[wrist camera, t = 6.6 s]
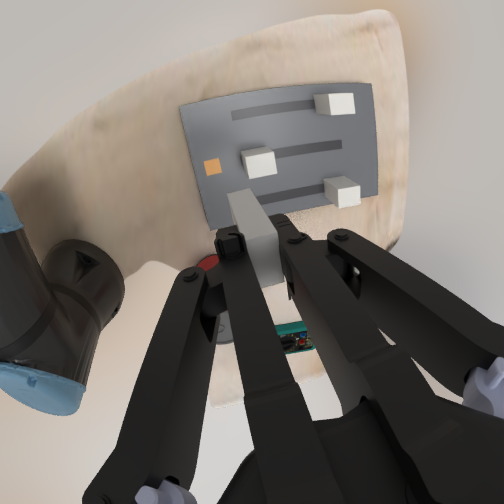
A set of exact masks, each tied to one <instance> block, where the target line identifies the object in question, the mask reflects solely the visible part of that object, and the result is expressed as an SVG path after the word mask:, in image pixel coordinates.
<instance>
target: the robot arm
mask: <svg viewBox="0 0 504 504" xmlns="http://www.w3.org/2000/svg"><path fill="white" fill-rule="evenodd" d="M227 196H228V200H229V205H230V209H231V213H232V218H233V222H234V225H233V226H229V227H225V228H221V229H218V231H217V233H216V239H215V241H214V245H215V248H216V252H217V255H218V259H219V262H218V263H217V264H216V265H215V266H214V267H213V268H211V269H209V270H207V271H205V270H204V269H203V268H201V267H190V268H186V269H184V270H183V271H181V272H180V273H179V274H178V275H177V277H176V279H175V281H174V284H173V286H172V288H171V291H170V293H169V296H168V298H167V301H166V303H165V305H164V308H163V310H162V313H161V316H160V318H159V321H158V323H157V326H156V328H155V331H154V333H153V336H152V339H151V342H150V344H149V347H148V350H147V352H146V355H145V358H144V361H143V363H142V366H141V369H140V372H139V375H138V378H137V380H136V383H135V386H134V389H133V392H132V395H131V398H130V401H129V404H128V408H127V411H126V414H125V417H124V421H123V424H122V427H121V430H120V434H119V437H118V441H117V444H116V447H115V449H114V450H113V452H112V453H111V455H110V456H109V458H108V459H107V460H106V462H105V463H104V465H103V466H102V468H101V469H100V470H99V472H98V473H97V475H96V476H95V478H94V479H93V480H92V482H91V483H90V485H89V486H88V488H87V489H86V491H85V492H84V495H83V497H82V504H197V501H196V499H195V497H194V496H193V495H192V494H191V493H190V492H189V489H190V486H191V483H192V481H193V478H194V474H195V469H196V465H197V458H198V452H199V445H200V439H201V432H202V425H203V419H204V413H205V406H206V401H207V395H208V389H209V383H210V377H211V371H212V365H213V359H214V353H215V347H216V342H217V336H218V330H219V325H220V319H221V317H220V314H221V313H223V312H225V311H227V310H228V314H229V320H230V325H231V330H232V335H233V340H234V346H235V351H236V355H237V360H238V365H239V370H240V375H241V380H242V384H243V389H244V395H245V396H244V404H245V409H246V414H247V418H248V423H249V427H250V432H251V436H252V440H253V445H254V450H253V451H251V453H249V455H248V456H246V458H245V459H244V460H243V461H242V463H241V464H240V466H239V468H238V469H237V471H236V473H235V474H234V476H233V478H232V480H231V481H230V483H229V485H228V486H227V488H226V490H225V491H224V493H223V495H222V497H221V498H220V499H219V501H218V503H217V504H504V326H502V325H499V324H497V323H494V322H492V321H490V320H489V319H488V318H486V317H485V316H484V315H482V314H481V313H480V312H478V311H477V310H476V309H474V308H473V307H471V306H470V305H469V304H467V303H466V302H464V301H463V300H462V299H460V298H459V297H457V296H456V295H454V294H453V293H451V292H450V291H448V290H447V289H446V288H444V287H443V286H441V285H439V284H438V283H437V282H435V281H433V280H432V279H430V278H429V277H427V276H426V275H424V274H423V273H421V272H420V271H418V270H416V269H415V268H413V267H411V266H410V265H408V264H407V263H405V262H404V261H402V260H400V259H399V258H397V257H395V256H394V255H392V254H391V253H389V252H387V251H386V250H384V249H382V248H381V247H379V246H377V245H375V244H374V243H372V242H370V241H369V240H367V239H365V238H363V237H362V236H360V235H358V234H356V233H355V232H353V231H350V230H348V229H336V230H332V231H331V232H329V233H328V235H327V240H312V239H311V238H310V237H309V236H308V235H307V234H305V233H302V232H299V231H298V230H297V228H296V227H295V226H294V225H293V224H292V222H291V221H290V219H289V218H288V217H287V216H286V215H284V214H281V213H279V214H275V215H271V216H267V215H266V213H265V211H264V210H263V208H262V207H261V205H260V204H259V202H258V200H257V199H256V197H255V196H254V194H253V192H252V191H251V189H250V188H249V189H244V190H240V191H236V192H232V193H228V194H227ZM23 227H24V225H23V223H22V222H20V220H19V218H18V215H17V213H16V210H15V208H14V206H13V203H12V200H11V198H10V197H9V195H8V194H7V193H5V192H3V191H0V388H1V389H2V390H3V391H5V392H6V393H7V394H8V395H10V396H11V397H13V398H14V399H16V400H18V401H19V402H21V403H23V404H25V405H27V406H29V407H31V408H33V409H36V410H38V411H41V412H44V413H48V414H52V415H58V416H68V415H71V414H73V413H75V412H76V411H77V410H78V409H79V406H80V403H81V400H82V396H83V393H84V392H85V391H86V384H87V380H88V376H89V372H90V368H91V364H92V360H93V357H94V353H95V349H96V346H97V342H98V339H99V335H100V332H101V331H102V330H103V329H104V327H105V326H106V325H107V324H108V323H109V322H110V321H111V320H112V318H114V316H115V315H116V314H117V313H118V311H119V309H120V307H121V304H122V301H123V298H124V293H125V286H124V281H123V277H122V275H121V272H120V270H119V269H118V267H117V265H116V264H115V263H114V261H113V260H112V259H111V258H110V257H109V256H108V255H107V254H106V253H105V252H103V251H102V250H101V249H99V248H98V247H96V246H94V245H92V244H90V243H87V242H84V241H80V240H67V241H63V242H60V243H58V244H57V245H55V246H54V247H53V248H52V249H51V250H50V252H49V253H48V254H47V255H46V257H45V258H44V260H43V262H42V265H41V267H40V265H39V263H38V261H37V259H36V257H35V255H34V253H33V251H32V248H31V246H30V244H29V242H28V239H27V237H26V234H25V232H24V230H23ZM355 268H356V269H357V270H358V271H359V274H358V273H356V272H355ZM284 276H285V278H286V281H287V289H288V297H289V300H291V297H292V299H293V301H294V303H295V305H296V307H297V309H298V311H299V313H300V316H301V318H302V320H303V322H304V324H305V326H306V328H307V331H308V333H309V335H310V337H311V339H312V341H313V343H314V346H315V348H316V350H317V352H318V354H319V356H320V359H321V361H322V363H323V365H324V367H325V369H326V372H327V374H328V376H329V378H330V380H331V382H332V385H333V387H334V389H335V391H336V394H337V396H338V398H339V400H340V403H341V406H342V412H343V416H342V417H340V418H334V419H327V420H317V421H312V419H311V416H310V413H309V410H308V408H307V405H306V402H305V400H304V397H303V394H302V392H301V389H300V387H299V385H298V383H297V382H295V380H294V377H293V375H292V372H291V369H290V367H289V364H288V361H287V358H286V356H285V353H284V350H283V347H282V345H281V342H280V339H279V336H278V334H277V331H276V328H275V325H274V323H273V320H272V317H271V314H270V312H269V309H268V306H267V303H266V301H265V298H264V295H263V292H262V289H261V288H264V287H268V286H271V285H275V284H279V283H282V282H285V281H284ZM377 327H378V328H379V329H380V330H381V331H382V332H383V333H385V334H386V335H387V336H388V337H389V338H390V339H391V340H392V341H394V342H395V343H396V345H390V344H389V343H388V342H387V341H386V339H385V338H384V336H383V335H382V333H381V332H380V331H379V329H378V328H377ZM411 357H412V358H413V359H414V360H415V361H416V362H417V363H418V364H419V365H420V366H422V367H423V368H424V369H425V370H426V371H427V372H428V373H429V374H430V375H431V376H433V377H434V378H435V379H436V380H437V381H438V382H439V383H441V384H442V385H443V386H444V387H445V388H447V389H448V390H450V391H451V392H453V393H454V394H456V395H458V396H460V397H462V398H463V399H464V401H463V402H462V405H461V404H458V403H456V402H453V401H450V400H447V399H445V398H442V397H439V396H437V395H435V393H434V392H433V390H432V389H431V387H430V386H429V384H428V382H427V381H426V379H425V378H424V376H423V375H422V373H421V372H420V371H419V369H418V368H417V366H416V364H415V363H414V362H413V360H412V359H411Z"/></svg>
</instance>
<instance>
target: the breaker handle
mask: <svg viewBox="0 0 504 504" xmlns="http://www.w3.org/2000/svg"><path fill="white" fill-rule="evenodd" d="M241 155H242V160H243V166H244V171H245V172H246V174H247V176H248V178H249V179H253V178H258V177H263V176H268V175H273V174H277V168H276V162H275V155H274V151H272V150H271V149H269V148H268V147H266V146H265V147H259V148H254V149H249V150H244V151H241Z"/></svg>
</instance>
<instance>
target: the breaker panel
mask: <svg viewBox="0 0 504 504" xmlns="http://www.w3.org/2000/svg"><path fill="white" fill-rule="evenodd" d="M179 109H180V113H181V118H182V122H183V126H184V131H185V135H186V139H187V143H188V147H189V151H190V155H191V159H192V163H193V167H194V171H195V175H196V179H197V183H198V187H199V191H200V194H201V198H202V202H203V206H204V209H205V213H206V217H207V220H208V224H209V228H210V231H211V230H215V229H219V228H224V227H228V226H232V225H234V222H233V218H232V213H231V209H230V205H229V200H228V196H227V194H228V193H232V192H236V191H240V190H244V189H249V188H250V189H251V191H252V192H253V194H254V196H255V197H256V199H257V200H258V202H259V204H260V205H261V207H262V208H263V210H264V211H265V213H266V215H267V216H271V215H275V214H279V213H281V214H286V213H291V212H295V211H300V210H305V209H310V208H314V207H319V206H324V205H329V204H334V205H335V206H337V207H338V208H344V207H349V206H354V205H359V204H360V198H365V197H370V196H376V195H378V155H377V135H376V121H375V110H374V100H373V92H372V84H371V83H334V84H313V85H299V86H288V87H279V88H271V89H263V90H256V91H250V92H244V93H238V94H233V95H227V96H222V97H217V98H213V99H208V100H204V101H200V102H196V103H191V104H188V105H184V106H180V107H179ZM265 146H266V147H268V148H269V149H271V150H272V151H274V155H275V162H276V168H277V174H273V175H268V176H263V177H258V178H253V179H249V178H248V176H247V174H246V172H245V171H244V166H243V160H242V155H241V151H244V150H249V149H254V148H259V147H265Z"/></svg>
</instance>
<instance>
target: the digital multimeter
mask: <svg viewBox="0 0 504 504" xmlns="http://www.w3.org/2000/svg"><path fill="white" fill-rule="evenodd" d="M275 328H276V331H277V334H278V336H279V339H280V342H281V345H282V347H283V350H284V353H285V355H286V354H292V353H297V352H303V351H309V350H313V349H315V346H314V343H313V341H312V339H311V337H310V335H309V333H308V331H307V328H306V326H305V324H304V322H303V321H300V322H294V323H289V324H283V325H276V326H275Z"/></svg>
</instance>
